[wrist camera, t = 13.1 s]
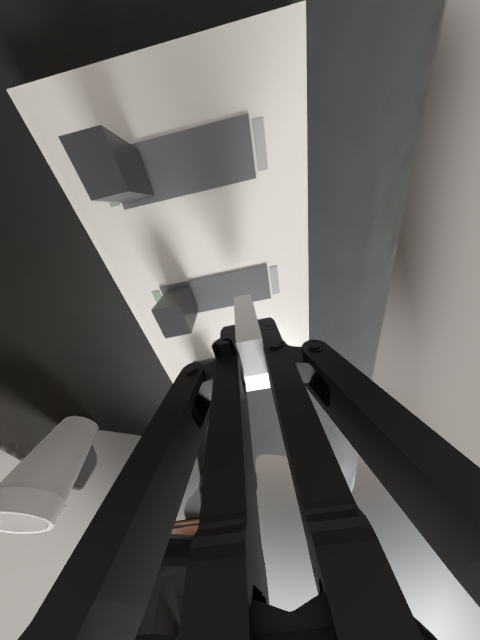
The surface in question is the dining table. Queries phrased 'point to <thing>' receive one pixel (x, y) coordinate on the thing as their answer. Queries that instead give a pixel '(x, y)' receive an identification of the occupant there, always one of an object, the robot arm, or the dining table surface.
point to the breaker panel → (197, 174)
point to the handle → (107, 165)
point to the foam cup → (45, 478)
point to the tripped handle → (176, 312)
